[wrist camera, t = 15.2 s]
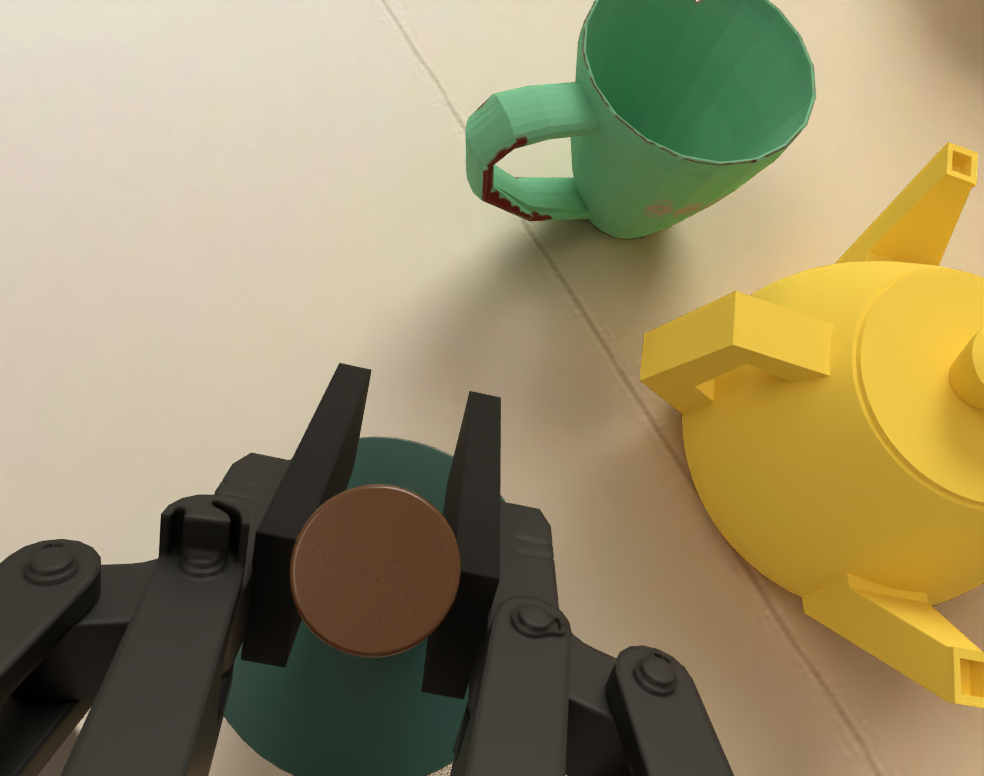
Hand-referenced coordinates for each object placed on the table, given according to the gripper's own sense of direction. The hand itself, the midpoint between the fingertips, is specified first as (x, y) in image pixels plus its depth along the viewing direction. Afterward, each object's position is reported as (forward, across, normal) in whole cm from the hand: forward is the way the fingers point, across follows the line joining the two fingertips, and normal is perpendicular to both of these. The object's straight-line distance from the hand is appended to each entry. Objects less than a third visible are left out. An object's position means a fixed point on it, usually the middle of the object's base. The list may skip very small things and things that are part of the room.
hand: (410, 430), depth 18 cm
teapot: (+16, +19, -5) cm, 26 cm away
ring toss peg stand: (-1, 0, -5) cm, 5 cm away
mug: (+23, +6, +2) cm, 24 cm away
